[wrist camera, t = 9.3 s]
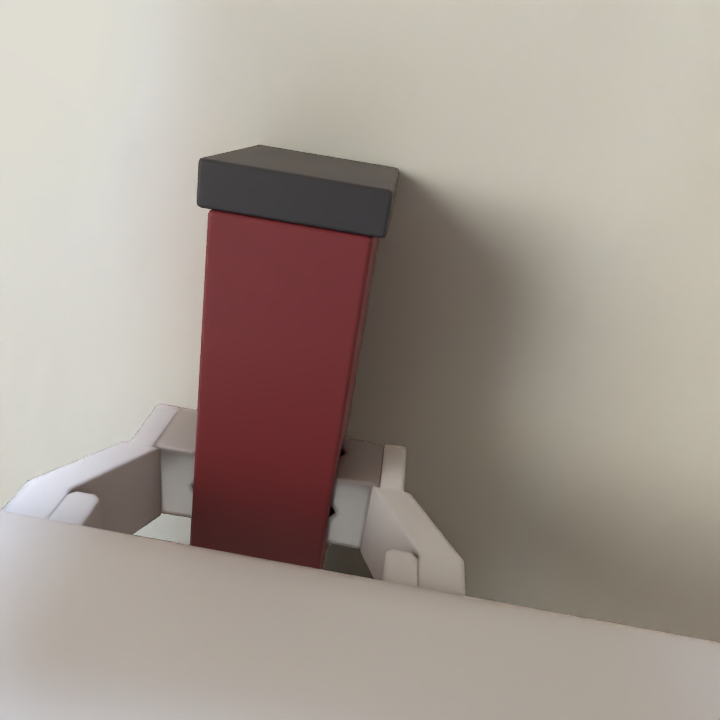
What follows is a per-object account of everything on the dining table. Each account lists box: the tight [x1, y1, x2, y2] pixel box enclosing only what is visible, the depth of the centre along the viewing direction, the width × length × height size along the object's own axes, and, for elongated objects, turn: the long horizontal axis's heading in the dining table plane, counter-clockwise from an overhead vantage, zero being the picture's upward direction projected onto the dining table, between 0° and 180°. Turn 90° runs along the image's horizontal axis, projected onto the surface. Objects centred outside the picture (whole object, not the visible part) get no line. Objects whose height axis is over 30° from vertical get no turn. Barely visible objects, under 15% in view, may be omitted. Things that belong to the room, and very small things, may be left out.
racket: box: [190, 145, 399, 569], centre depth 16 cm, size 24×12×4 cm, turn 172°
